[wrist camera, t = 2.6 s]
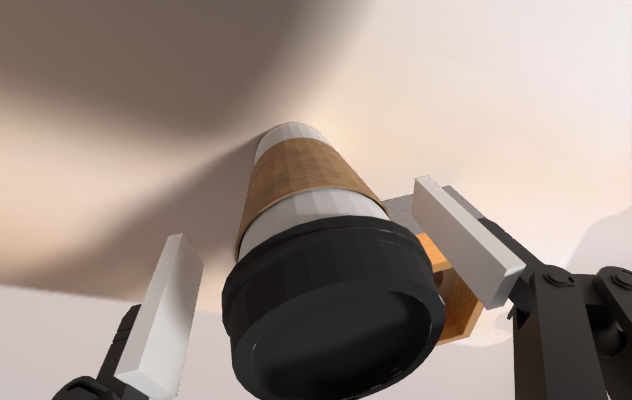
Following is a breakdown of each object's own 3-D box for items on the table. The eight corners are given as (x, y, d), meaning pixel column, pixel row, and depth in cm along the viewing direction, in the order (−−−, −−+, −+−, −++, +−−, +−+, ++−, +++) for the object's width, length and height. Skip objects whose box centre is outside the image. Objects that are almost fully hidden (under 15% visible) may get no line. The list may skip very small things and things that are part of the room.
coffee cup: (253, 209, 22) (250, 431, 11) (223, 113, 17) (156, 332, 5) (345, 192, 23) (440, 379, 11) (343, 95, 18) (511, 253, 6)
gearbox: (301, 220, 24) (318, 293, 18) (450, 185, 25) (515, 243, 19) (321, 304, 33) (336, 373, 27) (429, 276, 34) (469, 336, 28)
